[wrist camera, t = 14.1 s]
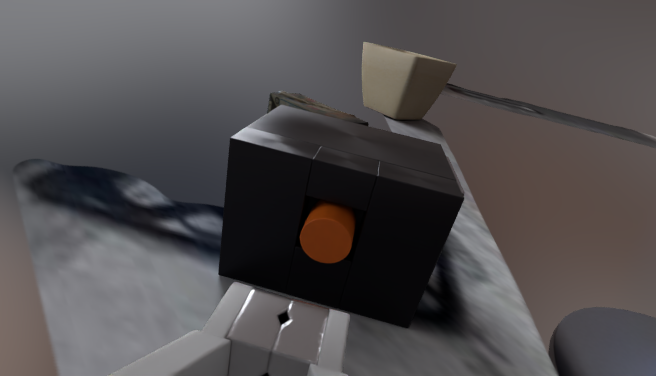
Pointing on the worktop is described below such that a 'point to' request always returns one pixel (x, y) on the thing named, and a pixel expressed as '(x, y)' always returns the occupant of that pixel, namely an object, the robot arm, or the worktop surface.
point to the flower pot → (401, 81)
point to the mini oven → (345, 189)
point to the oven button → (328, 232)
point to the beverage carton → (308, 106)
